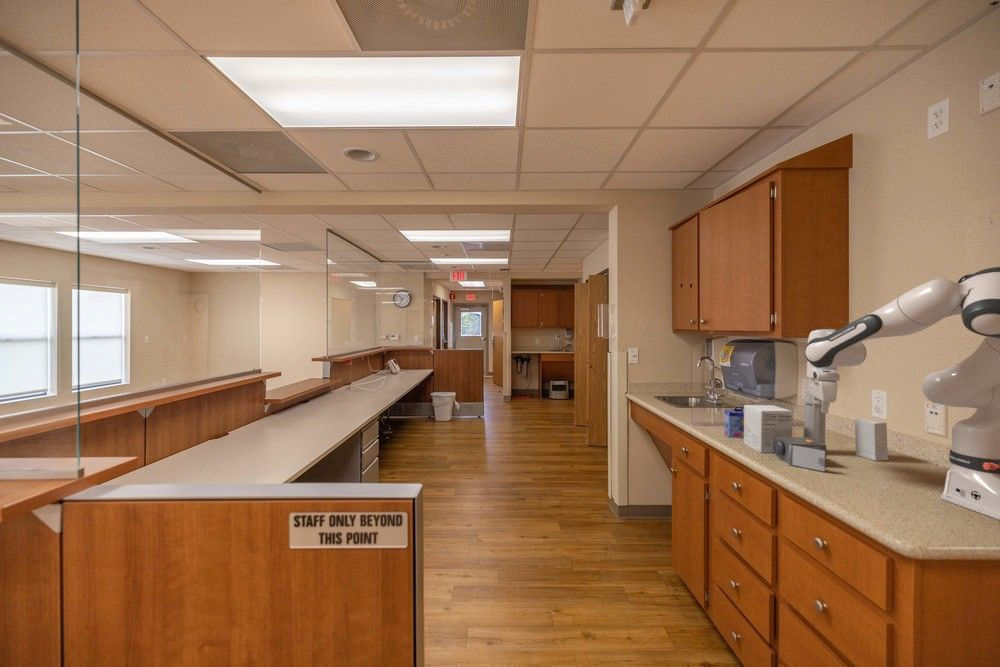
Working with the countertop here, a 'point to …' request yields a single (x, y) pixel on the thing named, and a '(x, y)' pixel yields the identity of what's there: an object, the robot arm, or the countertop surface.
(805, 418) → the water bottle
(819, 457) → the side door
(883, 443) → the skincare box
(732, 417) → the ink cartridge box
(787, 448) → the camera housing
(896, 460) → the countertop surface
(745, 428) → the supplement box
